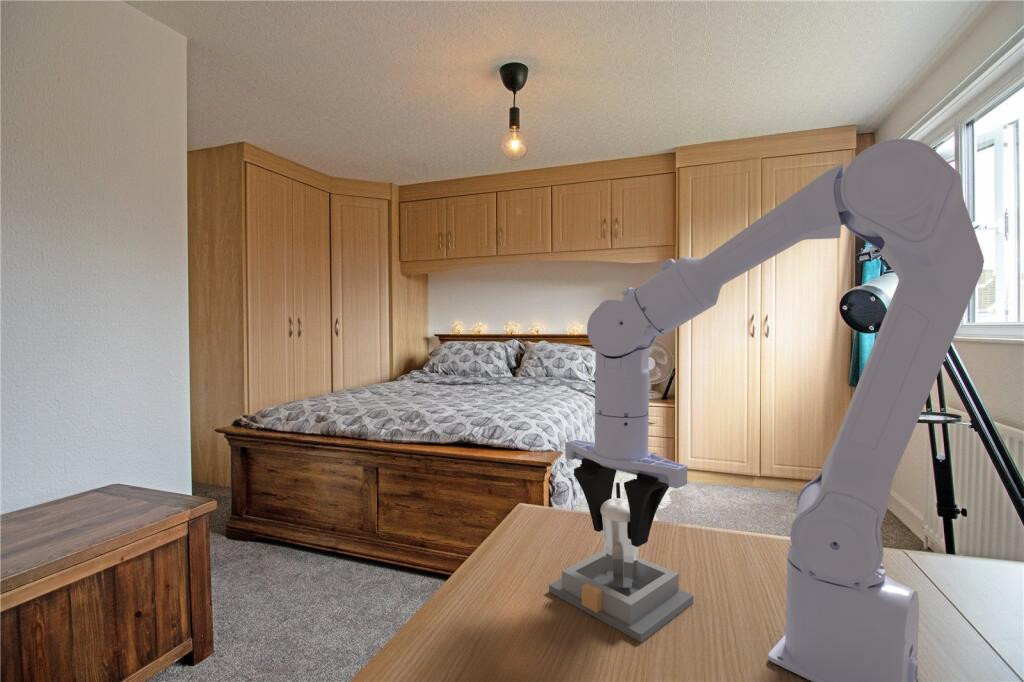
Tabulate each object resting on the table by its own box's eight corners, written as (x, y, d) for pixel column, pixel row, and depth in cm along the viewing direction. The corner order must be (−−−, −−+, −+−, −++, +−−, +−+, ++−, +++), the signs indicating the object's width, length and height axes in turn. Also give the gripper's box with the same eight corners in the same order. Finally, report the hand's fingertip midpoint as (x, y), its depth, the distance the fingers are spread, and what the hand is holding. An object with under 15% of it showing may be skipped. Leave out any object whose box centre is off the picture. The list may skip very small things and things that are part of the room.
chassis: (693, 602, 54) (693, 577, 54) (639, 644, 47) (639, 615, 47) (603, 562, 63) (603, 540, 63) (547, 592, 56) (547, 568, 56)
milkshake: (637, 564, 58) (637, 482, 57) (645, 592, 53) (646, 502, 52) (598, 563, 59) (597, 482, 58) (602, 591, 54) (602, 502, 52)
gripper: (703, 417, 51) (700, 546, 52) (592, 400, 62) (591, 507, 63) (666, 427, 47) (664, 569, 47) (553, 407, 57) (552, 523, 58)
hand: (620, 535), depth 55 cm, fingers closed on milkshake, 4 cm apart
